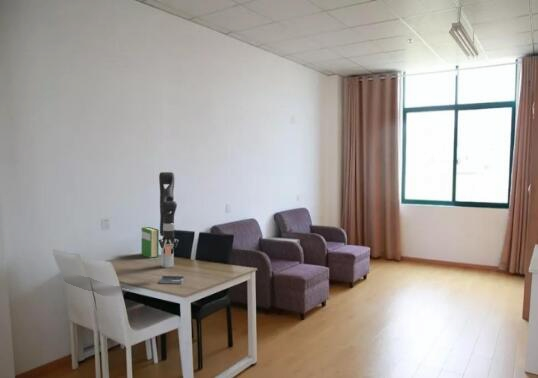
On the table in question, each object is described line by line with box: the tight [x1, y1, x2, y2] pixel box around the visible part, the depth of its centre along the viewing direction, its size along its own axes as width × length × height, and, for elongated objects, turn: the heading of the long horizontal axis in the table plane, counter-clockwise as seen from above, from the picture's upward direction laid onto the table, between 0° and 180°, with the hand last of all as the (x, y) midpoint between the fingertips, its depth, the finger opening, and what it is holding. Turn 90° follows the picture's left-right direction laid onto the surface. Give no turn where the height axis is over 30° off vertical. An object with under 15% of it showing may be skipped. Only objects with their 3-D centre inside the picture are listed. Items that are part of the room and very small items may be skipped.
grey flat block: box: [158, 275, 185, 285], centre depth 269 cm, size 8×15×3 cm, turn 90°
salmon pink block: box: [165, 244, 172, 256], centre depth 275 cm, size 4×4×7 cm
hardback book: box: [141, 226, 160, 259], centre depth 343 cm, size 18×7×24 cm, turn 42°
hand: (168, 253), depth 275 cm, fingers closed on salmon pink block, 4 cm apart
